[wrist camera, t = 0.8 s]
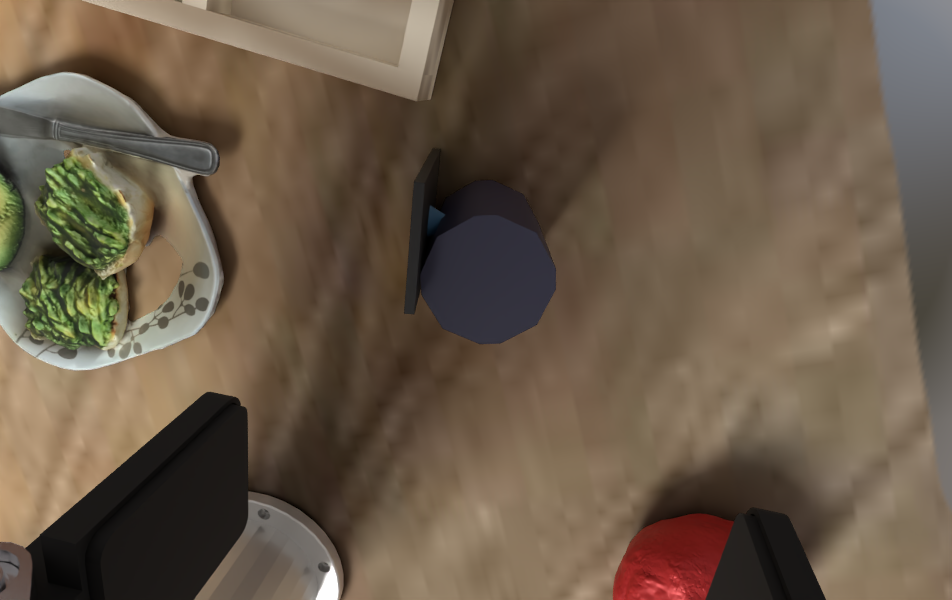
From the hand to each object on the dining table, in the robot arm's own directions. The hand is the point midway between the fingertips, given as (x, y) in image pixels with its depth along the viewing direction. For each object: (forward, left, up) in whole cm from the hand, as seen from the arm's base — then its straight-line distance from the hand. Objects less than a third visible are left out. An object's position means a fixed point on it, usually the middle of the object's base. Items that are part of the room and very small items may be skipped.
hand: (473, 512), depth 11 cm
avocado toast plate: (-8, +27, -24) cm, 36 cm away
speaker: (0, +3, -23) cm, 23 cm away
